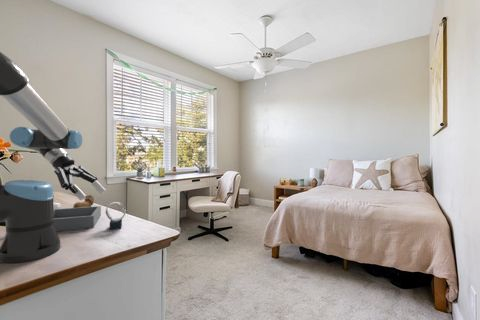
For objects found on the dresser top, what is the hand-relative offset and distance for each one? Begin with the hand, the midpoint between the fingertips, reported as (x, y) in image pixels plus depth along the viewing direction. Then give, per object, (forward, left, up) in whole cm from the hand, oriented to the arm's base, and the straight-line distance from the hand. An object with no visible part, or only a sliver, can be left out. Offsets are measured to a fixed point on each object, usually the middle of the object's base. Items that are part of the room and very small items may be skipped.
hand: (94, 194), depth 104 cm
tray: (+8, +10, -14) cm, 19 cm away
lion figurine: (+26, +9, -14) cm, 32 cm away
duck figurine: (+30, +26, -14) cm, 42 cm away
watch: (-5, -9, -14) cm, 18 cm away
